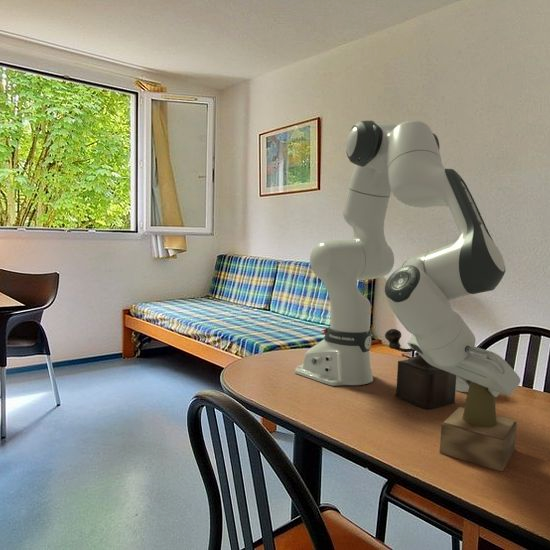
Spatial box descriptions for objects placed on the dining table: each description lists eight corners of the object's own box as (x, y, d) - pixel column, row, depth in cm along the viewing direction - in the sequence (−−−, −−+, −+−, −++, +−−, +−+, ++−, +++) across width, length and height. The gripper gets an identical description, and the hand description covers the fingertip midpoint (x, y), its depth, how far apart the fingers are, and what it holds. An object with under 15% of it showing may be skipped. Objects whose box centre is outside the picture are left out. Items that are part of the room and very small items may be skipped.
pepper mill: (420, 389, 126) (424, 323, 125) (456, 403, 117) (460, 331, 115) (378, 399, 118) (381, 328, 117) (412, 414, 109) (416, 337, 107)
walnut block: (439, 452, 90) (441, 422, 90) (456, 433, 99) (458, 405, 98) (502, 471, 84) (504, 438, 83) (514, 449, 92) (517, 419, 92)
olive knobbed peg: (503, 425, 89) (508, 368, 88) (476, 428, 87) (481, 370, 86) (481, 413, 94) (485, 359, 93) (455, 415, 93) (459, 360, 92)
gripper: (505, 341, 77) (542, 393, 82) (420, 318, 95) (454, 361, 100) (483, 371, 75) (522, 422, 80) (401, 341, 94) (437, 384, 99)
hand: (484, 388), depth 90 cm, fingers closed on olive knobbed peg, 4 cm apart
